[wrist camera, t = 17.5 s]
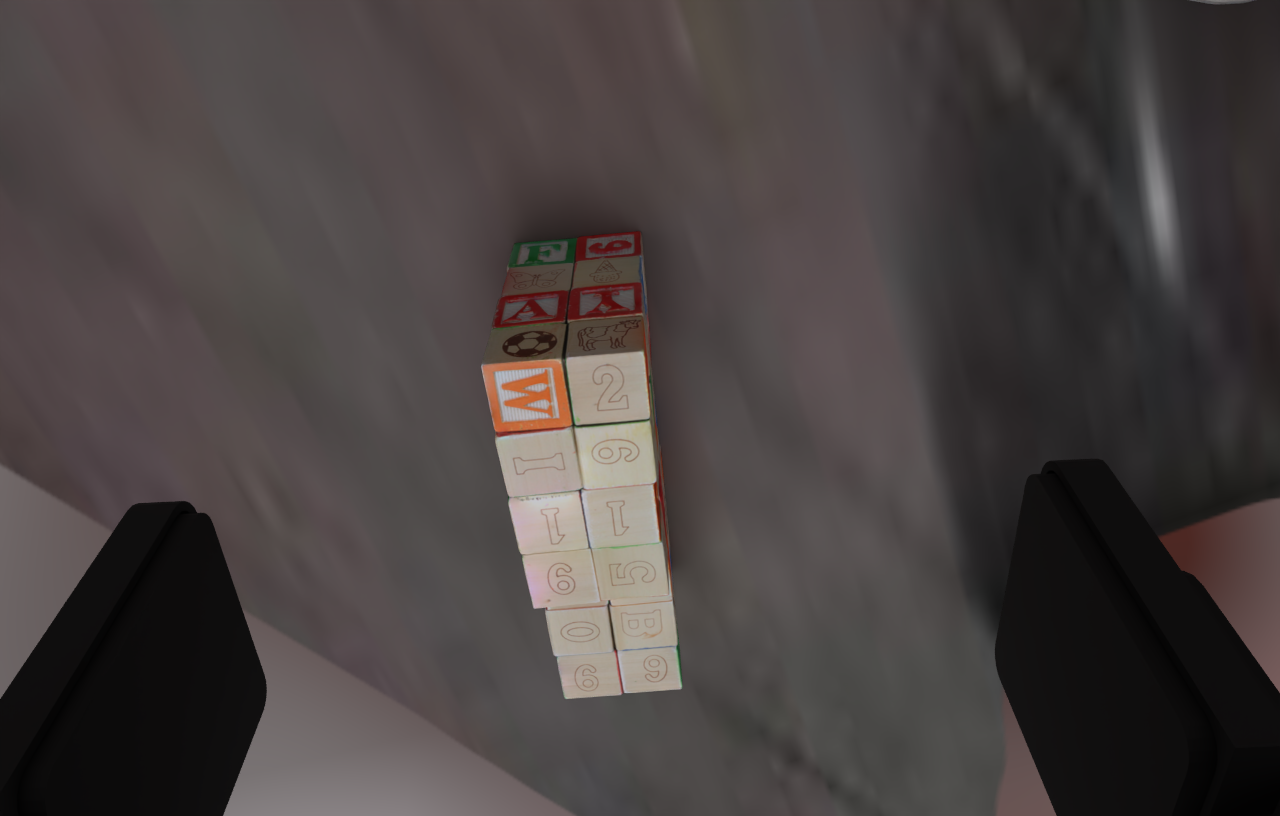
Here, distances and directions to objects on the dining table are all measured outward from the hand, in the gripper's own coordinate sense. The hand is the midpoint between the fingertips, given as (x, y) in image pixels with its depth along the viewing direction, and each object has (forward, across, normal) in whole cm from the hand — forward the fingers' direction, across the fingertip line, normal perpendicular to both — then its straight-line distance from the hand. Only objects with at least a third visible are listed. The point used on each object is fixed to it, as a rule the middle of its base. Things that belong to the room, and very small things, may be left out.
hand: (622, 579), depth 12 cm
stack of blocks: (+37, +2, +21) cm, 42 cm away
